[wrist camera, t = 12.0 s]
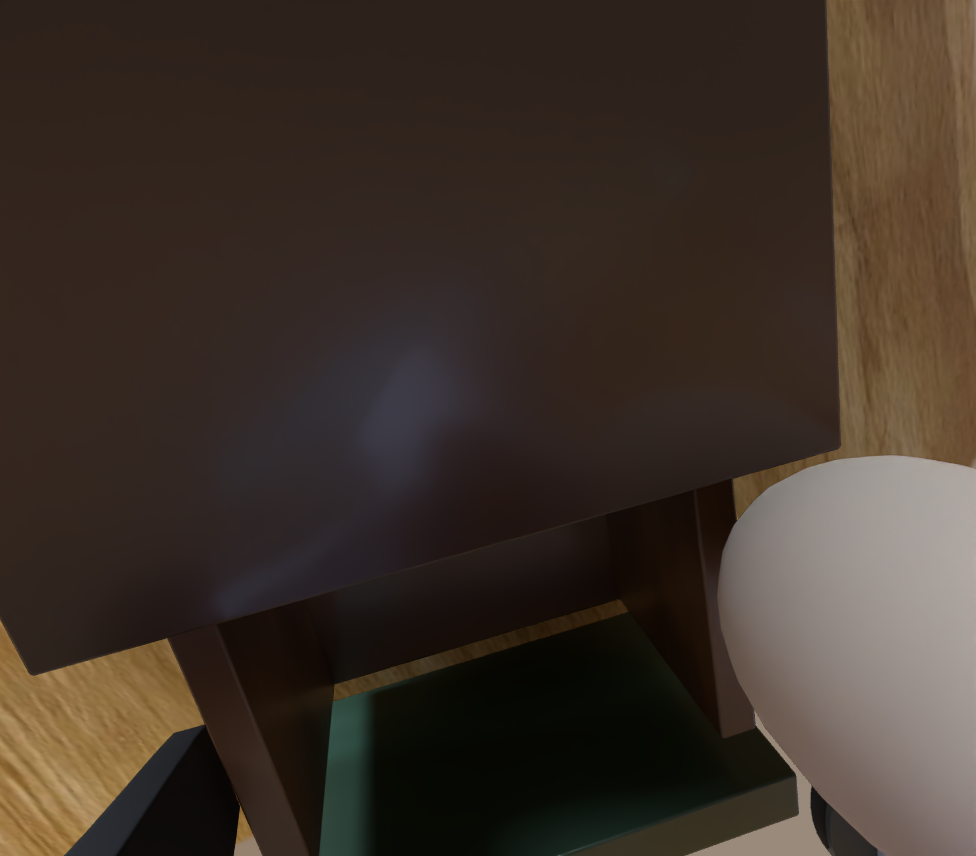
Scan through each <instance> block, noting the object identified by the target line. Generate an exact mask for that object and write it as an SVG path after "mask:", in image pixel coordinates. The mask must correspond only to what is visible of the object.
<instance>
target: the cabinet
mask: <svg viewBox="0 0 976 856" xmlns="http://www.w3.org/2000/svg"><path fill="white" fill-rule="evenodd" d="M840 447H841V429H840V399H839V369H838V339H837V309H836V279H835V249H834V219H833V189H832V159H831V129H830V99H829V69H828V39H827V9H826V0H0V620H1V622H2V624H3V626H4V627H5V629H6V631H7V633H8V635H9V637H10V639H11V641H12V643H13V644H14V646H15V648H16V650H17V652H18V654H19V656H20V658H21V660H22V661H23V663H24V665H25V667H26V669H27V671H28V673H29V674H30V675H34V676H35V675H38V674H42V673H45V672H49V671H52V670H56V669H59V668H63V667H67V666H70V665H74V664H77V663H81V662H84V661H88V660H91V659H95V658H98V657H102V656H106V655H109V654H113V653H116V652H120V651H123V650H127V649H130V648H134V647H137V646H141V645H145V644H148V643H152V642H155V641H159V640H162V639H166V638H169V637H173V636H176V635H180V634H184V633H187V632H191V631H194V630H198V629H201V628H205V627H208V626H212V625H216V624H219V623H223V622H226V621H230V620H233V619H237V618H240V617H244V616H247V615H251V614H255V613H258V612H262V611H265V610H269V609H272V608H276V607H279V606H283V605H286V604H290V603H294V602H297V601H301V600H304V599H308V598H311V597H315V596H318V595H322V594H326V593H329V592H333V591H336V590H340V589H343V588H347V587H350V586H354V585H357V584H361V583H365V582H368V581H372V580H375V579H379V578H382V577H386V576H389V575H393V574H396V573H400V572H404V571H407V570H411V569H414V568H418V567H421V566H425V565H428V564H432V563H436V562H439V561H443V560H446V559H450V558H453V557H457V556H460V555H464V554H467V553H471V552H475V551H478V550H482V549H485V548H489V547H492V546H496V545H499V544H503V543H506V542H510V541H514V540H517V539H521V538H524V537H528V536H531V535H535V534H538V533H542V532H546V531H549V530H553V529H556V528H560V527H563V526H567V525H570V524H574V523H577V522H581V521H585V520H588V519H592V518H595V517H599V516H602V515H606V514H609V513H613V512H616V511H620V510H624V509H627V508H631V507H634V506H638V505H641V504H645V503H648V502H652V501H655V500H659V499H663V498H666V497H670V496H673V495H677V494H680V493H684V492H687V491H691V490H695V489H698V488H702V487H705V486H709V485H712V484H716V483H719V482H723V481H726V480H730V479H734V478H737V477H741V476H744V475H748V474H751V473H755V472H758V471H762V470H765V469H769V468H773V467H776V466H780V465H783V464H787V463H790V462H794V461H797V460H801V459H805V458H808V457H812V456H815V455H819V454H822V453H826V452H829V451H833V450H836V449H839V448H840Z"/></svg>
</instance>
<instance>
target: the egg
mask: <svg viewBox="0 0 976 856" xmlns="http://www.w3.org/2000/svg"><path fill="white" fill-rule="evenodd" d="M717 600H718V608H719V616H720V624H721V630H722V634H723V637H724V640H725V644H726V647H727V651H728V654H729V658H730V661H731V663H732V666H733V669H734V671H735V674H736V677H737V679H738V682H739V684H740V685H741V687H742V689H743V691H744V692H745V694H746V696H747V697H748V699H749V701H750V703H751V704H752V706H753V708H754V710H755V711H756V713H757V715H758V716H759V718H760V720H761V722H762V723H763V725H764V727H765V728H766V730H767V731H768V732H769V733H770V735H771V736H772V737H773V738H774V739H775V741H776V742H777V743H778V744H779V746H780V747H781V748H782V749H783V751H784V752H785V753H786V754H787V755H788V757H789V758H790V759H791V760H792V762H793V763H794V764H795V765H796V767H797V768H798V769H799V770H800V771H801V773H802V774H803V775H804V776H805V777H806V779H807V780H808V781H809V782H810V784H811V785H812V786H813V787H814V789H815V790H816V791H817V792H818V793H819V795H820V796H821V797H822V798H823V799H824V800H825V801H826V802H827V803H828V804H829V805H830V806H831V807H833V808H834V809H835V810H836V811H837V812H838V813H839V814H840V815H841V816H842V817H843V818H844V819H845V820H846V821H847V822H848V823H849V824H850V825H851V826H852V827H853V828H854V829H856V830H857V831H858V832H859V833H860V834H861V835H862V836H863V837H864V838H865V839H866V840H867V841H868V842H869V843H870V844H871V845H873V846H874V847H876V848H877V849H878V850H880V851H881V852H883V853H884V854H886V855H887V856H976V469H974V468H970V467H967V466H963V465H958V464H952V463H946V462H941V461H935V460H929V459H923V458H916V457H907V456H898V455H887V456H869V457H858V458H848V459H837V460H833V461H830V462H826V463H822V464H819V465H815V466H811V467H808V468H805V469H803V470H801V471H799V472H797V473H795V474H793V475H791V476H789V477H787V478H785V479H784V480H782V481H780V482H778V483H776V484H774V485H772V486H770V487H769V488H767V489H766V490H765V491H764V492H763V493H762V494H761V495H760V496H758V497H757V498H756V499H755V500H754V501H753V502H752V503H751V504H750V506H749V507H748V508H747V509H746V511H745V512H744V513H743V514H742V516H741V517H740V518H739V519H738V521H737V522H736V523H735V524H734V526H733V528H732V530H731V532H730V535H729V537H728V539H727V542H726V544H725V546H724V549H723V552H722V559H721V565H720V572H719V580H718V591H717Z"/></svg>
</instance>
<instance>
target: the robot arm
mask: <svg viewBox="0 0 976 856" xmlns="http://www.w3.org/2000/svg"><path fill="white" fill-rule="evenodd" d="M239 811H240V805H239V802H238V800H237V797H236V795H235V792H234V790H233V787H232V785H231V783H230V780H229V778H228V776H227V773H226V771H225V769H224V767H223V764H222V762H221V760H220V757H219V755H218V753H217V751H216V748H215V746H214V744H213V741H212V739H211V737H210V735H209V732H208V730H207V728H206V725H201V726H198V727H194V728H191V729H187V730H183V731H180V732H176V733H174V734H173V735H172V736H171V737H170V738H169V739H168V740H167V741H166V742H165V743H164V744H163V745H162V746H161V747H160V748H159V749H158V751H157V752H156V753H155V754H154V755H153V756H152V757H151V758H150V760H149V761H148V762H147V763H146V764H145V765H144V766H143V768H142V769H141V770H140V771H139V772H138V773H137V775H136V776H135V777H134V778H133V779H132V780H131V781H130V783H129V784H128V785H127V786H126V787H125V788H124V790H123V791H122V792H121V793H120V794H119V795H118V796H117V797H116V799H115V800H114V801H113V802H112V803H111V804H110V805H109V807H108V808H107V809H106V810H105V811H104V812H103V813H102V815H101V816H100V817H99V818H98V819H97V820H96V821H95V823H94V824H93V825H92V826H91V827H90V828H89V829H88V830H87V832H86V833H85V834H84V835H83V836H82V837H81V838H80V839H79V840H78V841H77V842H76V844H75V845H74V846H73V847H72V848H71V849H70V850H69V851H68V852H67V853H66V854H65V855H64V856H234V849H235V843H236V836H237V827H238V819H239ZM877 854H878V856H887V855H886V854H884V853H883V852H881V851H880V850H878V849H877Z"/></svg>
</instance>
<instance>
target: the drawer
mask: <svg viewBox="0 0 976 856" xmlns="http://www.w3.org/2000/svg"><path fill="white" fill-rule="evenodd" d="M736 522H737V520H736V509H735V498H734V487H733V479H730V480H726V481H723V482H719V483H716V484H712V485H709V486H705V487H702V488H698V489H695V490H691V491H687V492H684V493H680V494H677V495H673V496H670V497H666V498H663V499H659V500H655V501H652V502H648V503H645V504H641V505H638V506H634V507H631V508H627V509H624V510H620V511H616V512H613V513H609V514H606V515H602V516H599V517H595V518H592V519H588V520H585V521H581V522H577V523H574V524H570V525H567V526H563V527H560V528H556V529H553V530H549V531H546V532H542V533H538V534H535V535H531V536H528V537H524V538H521V539H517V540H514V541H510V542H506V543H503V544H499V545H496V546H492V547H489V548H485V549H482V550H478V551H475V552H471V553H467V554H464V555H460V556H457V557H453V558H450V559H446V560H443V561H439V562H436V563H432V564H428V565H425V566H421V567H418V568H414V569H411V570H407V571H404V572H400V573H396V574H393V575H389V576H386V577H382V578H379V579H375V580H372V581H368V582H365V583H361V584H357V585H354V586H350V587H347V588H343V589H340V590H336V591H333V592H329V593H326V594H322V595H318V596H315V597H311V598H308V599H304V600H301V601H297V602H294V603H290V604H286V605H283V606H279V607H276V608H272V609H269V610H265V611H262V612H258V613H255V614H251V615H247V616H244V617H240V618H237V619H233V620H230V621H226V622H223V623H219V624H216V625H212V626H208V627H205V628H201V629H198V630H194V631H191V632H187V633H184V634H180V635H176V636H173V637H169V638H168V641H169V643H170V645H171V648H172V650H173V652H174V654H175V657H176V659H177V661H178V664H179V666H180V668H181V670H182V673H183V675H184V677H185V680H186V682H187V684H188V687H189V689H190V691H191V693H192V696H193V698H194V700H195V703H196V705H197V707H198V709H199V712H200V714H201V716H202V719H203V721H204V723H205V725H206V728H207V730H208V732H209V735H210V737H211V739H212V741H213V744H214V746H215V748H216V751H217V753H218V755H219V757H220V760H221V762H222V764H223V767H224V769H225V771H226V773H227V776H228V778H229V780H230V783H231V785H232V787H233V789H234V792H235V794H236V796H237V799H238V801H239V803H240V805H241V808H242V810H243V812H244V815H245V817H246V819H247V822H248V824H249V826H250V828H251V831H252V833H253V835H254V838H255V840H256V842H257V844H258V846H259V849H260V851H261V854H262V856H685V855H688V854H691V853H694V852H697V851H699V850H702V849H705V848H708V847H711V846H713V845H716V844H719V843H722V842H725V841H727V840H730V839H733V838H736V837H739V836H741V835H744V834H747V833H749V832H752V831H755V830H758V829H761V828H764V827H766V826H769V825H772V824H775V823H778V822H780V821H783V820H786V819H789V818H792V817H794V816H797V815H798V814H799V810H798V809H799V808H798V794H797V780H796V774H795V772H794V771H793V770H792V769H791V768H790V766H789V765H788V764H787V763H786V762H785V760H784V759H783V758H782V757H781V756H780V754H779V753H778V752H777V751H776V750H775V748H774V747H773V746H772V745H771V743H770V742H769V741H768V740H767V739H766V737H765V736H764V735H763V734H762V733H761V731H760V730H759V729H758V728H757V726H756V725H755V714H754V708H753V706H752V704H751V703H750V701H749V699H748V697H747V696H746V694H745V692H744V691H743V689H742V687H741V685H740V684H739V682H738V679H737V677H736V674H735V671H734V669H733V666H732V663H731V661H730V658H729V654H728V651H727V647H726V644H725V640H724V637H723V634H722V630H721V624H720V616H719V608H718V600H717V591H718V580H719V572H720V565H721V559H722V552H723V549H724V546H725V544H726V542H727V539H728V537H729V535H730V532H731V530H732V528H733V526H734V524H735V523H736ZM618 599H620V600H621V601H622V603H623V604H624V605H625V607H626V608H627V610H628V611H629V612H627V613H624V614H620V615H617V616H614V617H610V618H607V619H604V620H601V621H597V622H594V623H591V624H587V625H584V626H581V627H577V628H574V629H571V630H568V631H564V632H561V633H558V634H554V635H551V636H548V637H544V638H541V639H538V640H535V641H531V642H528V643H525V644H521V645H518V646H515V647H511V648H508V649H505V650H502V651H498V652H495V653H492V654H488V655H485V656H482V657H478V658H475V659H472V660H469V661H465V662H462V663H459V664H455V665H452V666H449V667H446V668H442V669H439V670H436V671H432V672H429V673H426V674H422V675H419V676H416V677H413V678H409V679H406V680H403V681H399V682H396V683H393V684H389V685H386V686H383V687H380V688H376V689H373V690H370V691H366V692H363V693H360V694H356V695H353V696H350V697H347V698H343V699H340V700H337V701H333V694H334V684H338V683H341V682H344V681H348V680H351V679H354V678H358V677H361V676H364V675H368V674H371V673H374V672H378V671H381V670H384V669H388V668H391V667H394V666H398V665H401V664H404V663H408V662H411V661H414V660H418V659H421V658H424V657H428V656H431V655H434V654H438V653H441V652H444V651H448V650H451V649H454V648H458V647H461V646H464V645H468V644H471V643H474V642H478V641H481V640H484V639H488V638H491V637H494V636H498V635H501V634H504V633H508V632H511V631H514V630H518V629H521V628H524V627H528V626H531V625H534V624H538V623H541V622H544V621H548V620H551V619H554V618H558V617H561V616H564V615H568V614H571V613H574V612H578V611H581V610H584V609H588V608H591V607H594V606H598V605H601V604H604V603H608V602H611V601H614V600H618Z"/></svg>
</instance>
